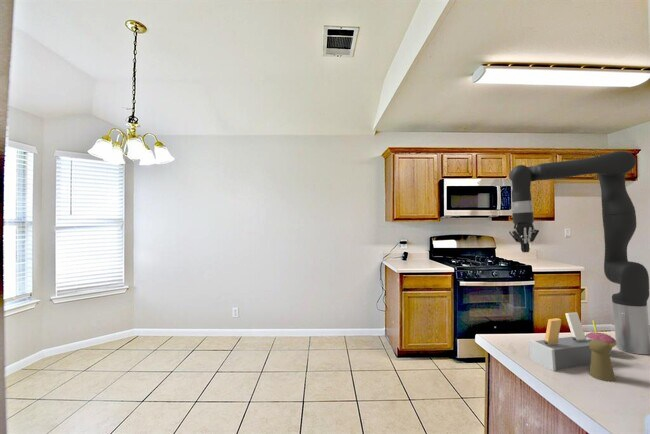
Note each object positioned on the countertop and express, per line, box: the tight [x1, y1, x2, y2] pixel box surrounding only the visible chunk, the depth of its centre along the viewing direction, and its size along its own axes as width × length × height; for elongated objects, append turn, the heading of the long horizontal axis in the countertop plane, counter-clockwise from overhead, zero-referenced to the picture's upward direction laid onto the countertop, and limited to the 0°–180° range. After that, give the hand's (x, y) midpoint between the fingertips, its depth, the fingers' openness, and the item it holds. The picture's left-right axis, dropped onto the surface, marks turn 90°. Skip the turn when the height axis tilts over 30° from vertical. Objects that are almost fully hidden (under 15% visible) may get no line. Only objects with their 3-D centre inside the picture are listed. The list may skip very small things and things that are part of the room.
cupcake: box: [585, 318, 617, 356], centre depth 110 cm, size 9×8×12 cm
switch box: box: [528, 336, 593, 372], centre depth 104 cm, size 21×9×7 cm, turn 99°
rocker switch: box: [564, 311, 586, 340], centre depth 106 cm, size 4×1×9 cm, turn 99°
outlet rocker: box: [544, 317, 562, 344], centre depth 102 cm, size 4×1×9 cm, turn 99°
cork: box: [589, 340, 616, 383], centre depth 93 cm, size 6×6×11 cm
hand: (525, 252), depth 126 cm, fingers closed
